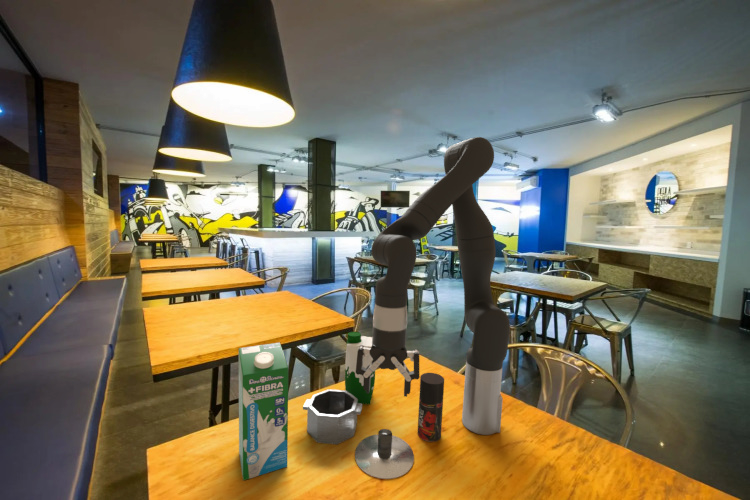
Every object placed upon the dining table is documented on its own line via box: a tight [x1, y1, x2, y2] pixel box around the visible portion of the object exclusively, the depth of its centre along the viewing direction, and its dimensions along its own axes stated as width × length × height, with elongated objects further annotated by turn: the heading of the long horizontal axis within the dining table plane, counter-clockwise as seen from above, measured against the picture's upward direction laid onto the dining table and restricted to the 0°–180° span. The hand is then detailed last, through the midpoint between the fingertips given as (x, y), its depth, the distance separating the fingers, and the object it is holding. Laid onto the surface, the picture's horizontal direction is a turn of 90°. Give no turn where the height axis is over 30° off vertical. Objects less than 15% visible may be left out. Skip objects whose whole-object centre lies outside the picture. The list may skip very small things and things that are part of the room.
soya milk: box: [344, 331, 376, 405], centre depth 98 cm, size 9×9×20 cm
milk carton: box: [238, 342, 289, 481], centre depth 71 cm, size 9×9×25 cm
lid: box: [354, 428, 415, 480], centre depth 75 cm, size 14×14×6 cm
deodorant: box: [417, 372, 445, 443], centre depth 82 cm, size 6×6×15 cm
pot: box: [302, 388, 363, 445], centre depth 84 cm, size 15×12×7 cm
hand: (386, 393), depth 74 cm, fingers open, 8 cm apart
